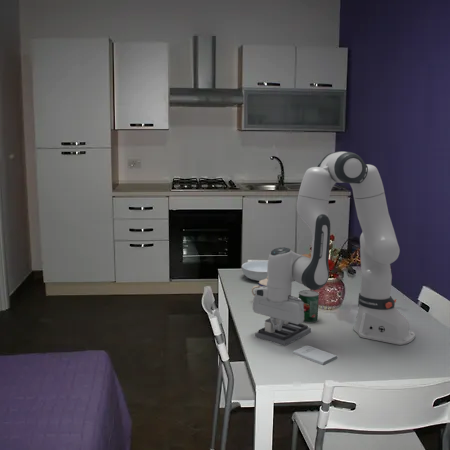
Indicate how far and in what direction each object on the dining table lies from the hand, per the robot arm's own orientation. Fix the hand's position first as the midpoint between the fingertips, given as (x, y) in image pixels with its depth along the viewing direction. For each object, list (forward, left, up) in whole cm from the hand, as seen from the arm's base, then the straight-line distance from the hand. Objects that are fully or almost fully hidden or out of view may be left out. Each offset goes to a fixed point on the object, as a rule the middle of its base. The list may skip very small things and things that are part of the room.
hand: (277, 329), depth 206 cm
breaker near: (+4, -11, -2) cm, 12 cm away
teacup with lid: (+27, -32, -4) cm, 42 cm away
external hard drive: (-18, +3, -4) cm, 19 cm away
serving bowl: (+49, -61, -4) cm, 78 cm away
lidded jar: (+40, -91, -4) cm, 99 cm away
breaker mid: (+4, -6, -2) cm, 7 cm away
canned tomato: (+2, -26, -4) cm, 26 cm away
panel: (+1, -6, -4) cm, 7 cm away
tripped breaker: (+3, 0, -2) cm, 4 cm away
